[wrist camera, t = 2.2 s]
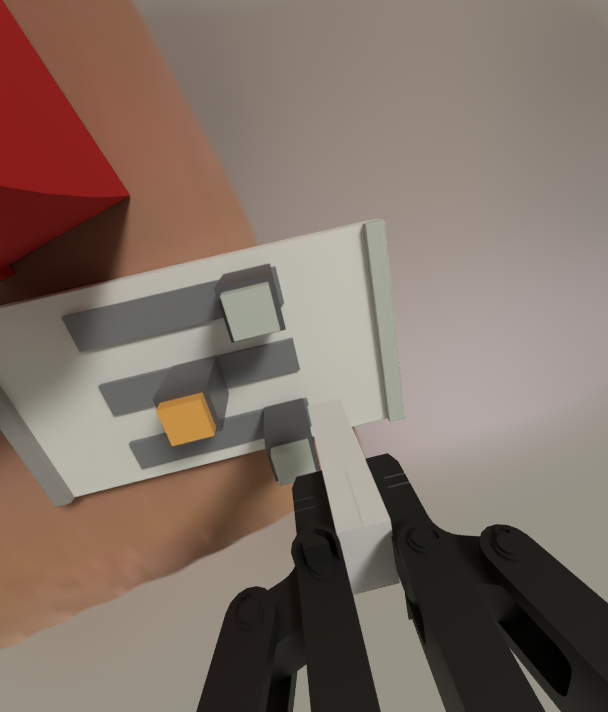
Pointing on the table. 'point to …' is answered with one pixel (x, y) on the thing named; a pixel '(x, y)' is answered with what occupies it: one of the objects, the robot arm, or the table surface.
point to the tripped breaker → (192, 400)
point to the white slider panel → (197, 341)
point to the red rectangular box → (43, 155)
